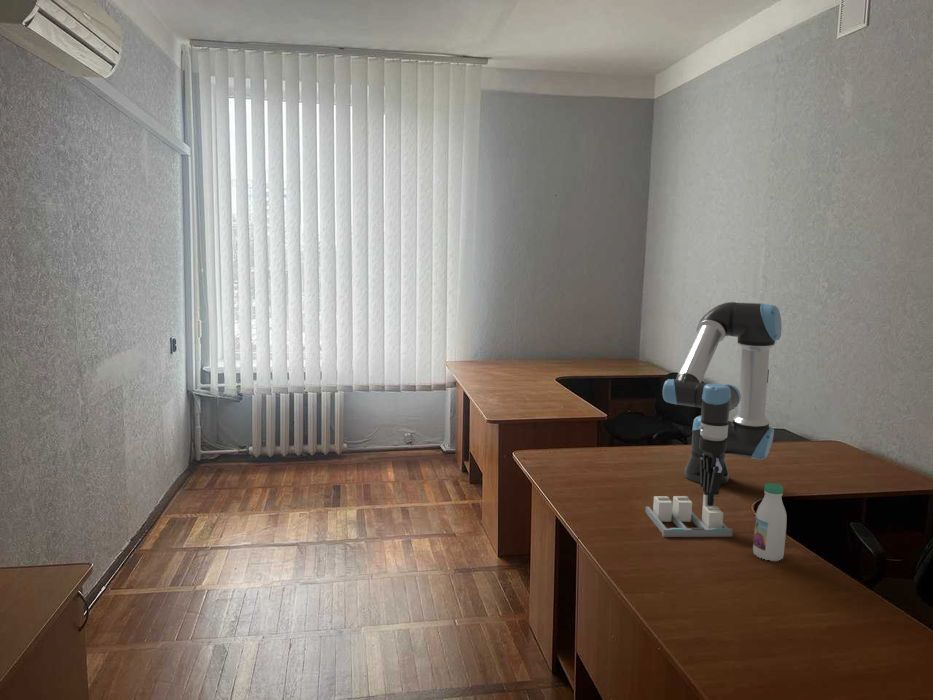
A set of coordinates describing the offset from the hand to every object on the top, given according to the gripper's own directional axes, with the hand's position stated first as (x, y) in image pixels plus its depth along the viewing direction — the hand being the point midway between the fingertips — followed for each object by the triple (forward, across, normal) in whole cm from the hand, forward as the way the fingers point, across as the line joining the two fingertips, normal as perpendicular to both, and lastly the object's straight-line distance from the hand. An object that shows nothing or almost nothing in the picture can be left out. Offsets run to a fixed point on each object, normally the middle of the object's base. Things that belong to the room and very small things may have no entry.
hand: (707, 514), depth 198 cm
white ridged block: (+3, -5, -6) cm, 8 cm away
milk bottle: (+5, +17, +10) cm, 21 cm away
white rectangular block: (+3, +3, 0) cm, 5 cm away
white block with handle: (+3, -5, -12) cm, 13 cm away
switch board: (+5, -1, -6) cm, 8 cm away
